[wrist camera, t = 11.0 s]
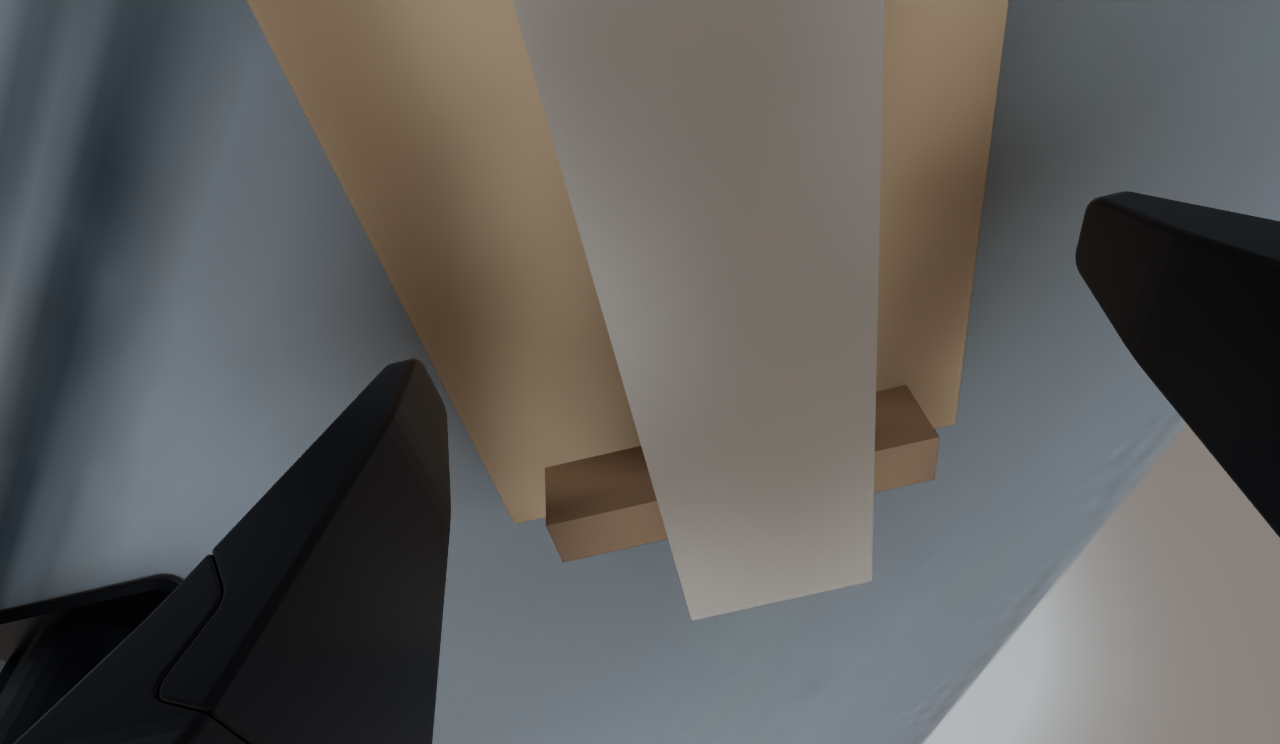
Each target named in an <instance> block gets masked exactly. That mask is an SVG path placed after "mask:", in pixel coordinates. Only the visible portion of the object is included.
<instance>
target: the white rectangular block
mask: <svg viewBox="0 0 1280 744" xmlns="http://www.w3.org/2000/svg"><path fill="white" fill-rule="evenodd" d="M512 2H513V6H514V9H515V12H516V16H517V19H518V23H519V26H520V30H521V33H522V37H523V40H524V44H525V47H526V50H527V54H528V57H529V61H530V64H531V68H532V71H533V75H534V78H535V81H536V85H537V88H538V92H539V95H540V99H541V102H542V106H543V109H544V113H545V116H546V119H547V123H548V126H549V130H550V133H551V137H552V140H553V144H554V147H555V150H556V154H557V157H558V161H559V164H560V168H561V171H562V175H563V178H564V181H565V185H566V188H567V192H568V195H569V199H570V202H571V206H572V209H573V213H574V216H575V219H576V223H577V226H578V230H579V233H580V237H581V240H582V244H583V247H584V250H585V254H586V257H587V261H588V264H589V268H590V271H591V275H592V278H593V282H594V285H595V288H596V292H597V295H598V299H599V302H600V306H601V309H602V313H603V316H604V319H605V323H606V326H607V330H608V333H609V337H610V340H611V344H612V347H613V350H614V354H615V357H616V361H617V364H618V368H619V371H620V375H621V378H622V382H623V385H624V388H625V392H626V395H627V399H628V402H629V406H630V409H631V413H632V416H633V419H634V423H635V426H636V430H637V433H638V437H639V440H640V444H641V447H642V451H643V454H644V457H645V461H646V464H647V468H648V471H649V475H650V478H651V482H652V485H653V488H654V492H655V495H656V499H657V502H658V506H659V509H660V513H661V516H662V519H663V523H664V526H665V530H666V533H667V537H668V540H669V544H670V547H671V551H672V554H673V557H674V561H675V564H676V568H677V571H678V575H679V578H680V582H681V585H682V588H683V592H684V595H685V599H686V602H687V606H688V609H689V613H690V616H691V620H692V621H694V620H698V619H703V618H707V617H712V616H717V615H721V614H726V613H730V612H735V611H739V610H744V609H748V608H753V607H757V606H762V605H767V604H771V603H776V602H780V601H785V600H789V599H794V598H798V597H803V596H807V595H812V594H817V593H821V592H826V591H830V590H835V589H839V588H844V587H848V586H853V585H858V584H862V583H867V582H871V581H872V553H873V507H874V462H875V416H876V371H877V326H878V280H879V235H880V189H881V144H882V99H883V53H884V8H885V0H512Z"/></svg>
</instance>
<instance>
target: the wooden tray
mask: <svg viewBox="0 0 1280 744" xmlns="http://www.w3.org/2000/svg"><path fill="white" fill-rule="evenodd" d="M247 2H248V4H249V6H250V8H251V10H252V12H253V14H254V16H255V18H256V20H257V22H258V24H259V26H260V28H261V30H262V32H263V33H264V35H265V37H266V39H267V41H268V43H269V45H270V47H271V49H272V51H273V53H274V55H275V57H276V59H277V61H278V63H279V65H280V67H281V69H282V71H283V73H284V75H285V76H286V78H287V80H288V82H289V84H290V86H291V88H292V90H293V92H294V94H295V96H296V98H297V100H298V102H299V104H300V106H301V108H302V110H303V112H304V114H305V116H306V118H307V120H308V121H309V123H310V125H311V127H312V129H313V131H314V133H315V135H316V137H317V139H318V141H319V143H320V145H321V147H322V149H323V151H324V153H325V155H326V157H327V159H328V161H329V163H330V164H331V166H332V168H333V170H334V172H335V174H336V176H337V178H338V180H339V182H340V184H341V186H342V188H343V190H344V192H345V194H346V196H347V198H348V200H349V202H350V204H351V206H352V207H353V209H354V211H355V213H356V215H357V217H358V219H359V221H360V223H361V225H362V227H363V229H364V231H365V233H366V235H367V237H368V239H369V241H370V243H371V245H372V247H373V249H374V251H375V252H376V254H377V256H378V258H379V260H380V262H381V264H382V266H383V268H384V270H385V272H386V274H387V276H388V278H389V280H390V282H391V284H392V286H393V288H394V290H395V292H396V294H397V295H398V297H399V299H400V301H401V303H402V305H403V307H404V309H405V311H406V313H407V315H408V317H409V319H410V321H411V323H412V325H413V327H414V329H415V331H416V333H417V335H418V337H419V338H420V340H421V342H422V344H423V346H424V348H425V350H426V352H427V354H428V356H429V358H430V360H431V362H432V364H433V366H434V368H435V370H436V372H437V374H438V376H439V378H440V380H441V382H442V383H443V385H444V387H445V389H446V391H447V393H448V395H449V397H450V399H451V401H452V403H453V405H454V407H455V409H456V411H457V413H458V415H459V417H460V419H461V421H462V423H463V425H464V426H465V428H466V430H467V432H468V434H469V436H470V438H471V440H472V442H473V444H474V446H475V448H476V450H477V452H478V454H479V456H480V458H481V460H482V462H483V464H484V466H485V468H486V469H487V471H488V473H489V475H490V477H491V479H492V481H493V483H494V485H495V487H496V489H497V491H498V493H499V495H500V497H501V499H502V501H503V503H504V505H505V507H506V509H507V511H508V512H509V514H510V516H511V518H512V520H513V522H514V524H517V523H522V522H526V521H531V520H535V519H539V518H544V517H546V527H547V529H548V531H549V533H550V536H551V538H552V540H553V542H554V544H555V546H556V548H557V551H558V553H559V555H560V557H561V559H562V561H563V562H567V561H572V560H576V559H581V558H585V557H590V556H594V555H598V554H603V553H607V552H612V551H616V550H621V549H625V548H630V547H634V546H639V545H643V544H648V543H652V542H656V541H661V540H665V539H668V537H667V533H666V530H665V526H664V523H663V519H662V516H661V513H660V509H659V506H658V502H657V499H656V495H655V492H654V488H653V485H652V482H651V478H650V475H649V471H648V468H647V464H646V461H645V457H644V454H643V451H642V447H641V444H640V440H639V437H638V433H637V430H636V426H635V423H634V419H633V416H632V413H631V409H630V406H629V402H628V399H627V395H626V392H625V388H624V385H623V382H622V378H621V375H620V371H619V368H618V364H617V361H616V357H615V354H614V350H613V347H612V344H611V340H610V337H609V333H608V330H607V326H606V323H605V319H604V316H603V313H602V309H601V306H600V302H599V299H598V295H597V292H596V288H595V285H594V282H593V278H592V275H591V271H590V268H589V264H588V261H587V257H586V254H585V250H584V247H583V244H582V240H581V237H580V233H579V230H578V226H577V223H576V219H575V216H574V213H573V209H572V206H571V202H570V199H569V195H568V192H567V188H566V185H565V181H564V178H563V175H562V171H561V168H560V164H559V161H558V157H557V154H556V150H555V147H554V144H553V140H552V137H551V133H550V130H549V126H548V123H547V119H546V116H545V113H544V109H543V106H542V102H541V99H540V95H539V92H538V88H537V85H536V81H535V78H534V75H533V71H532V68H531V64H530V61H529V57H528V54H527V50H526V47H525V44H524V40H523V37H522V33H521V30H520V26H519V23H518V19H517V16H516V12H515V9H514V6H513V2H512V0H247ZM1008 2H1009V0H885V8H884V53H883V99H882V144H881V189H880V235H879V280H878V326H877V371H876V416H875V462H874V493H875V492H880V491H884V490H889V489H893V488H897V487H902V486H906V485H911V484H915V483H920V482H924V481H929V480H933V479H935V473H936V464H937V455H938V445H939V436H938V434H937V433H936V431H935V429H937V428H941V427H945V426H950V425H954V424H955V421H956V413H957V405H958V397H959V389H960V381H961V374H962V366H963V358H964V350H965V342H966V334H967V326H968V318H969V310H970V302H971V294H972V287H973V279H974V271H975V263H976V255H977V247H978V239H979V231H980V223H981V215H982V207H983V200H984V192H985V184H986V176H987V168H988V160H989V152H990V144H991V136H992V128H993V120H994V113H995V105H996V97H997V89H998V81H999V73H1000V65H1001V57H1002V49H1003V41H1004V33H1005V25H1006V18H1007V10H1008Z"/></svg>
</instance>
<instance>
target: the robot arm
mask: <svg viewBox="0 0 1280 744" xmlns="http://www.w3.org/2000/svg"><path fill="white" fill-rule="evenodd" d="M1076 265H1077V268H1078V271H1079V273H1080V275H1081V276H1082V278H1083V279H1084V281H1085V282H1086V284H1087V286H1088V287H1089V289H1090V290H1091V292H1092V294H1093V295H1094V297H1095V298H1096V300H1097V301H1098V303H1099V305H1100V306H1101V308H1102V309H1103V311H1104V312H1105V314H1106V316H1107V317H1108V319H1109V320H1110V322H1111V324H1112V325H1113V327H1114V328H1115V330H1116V331H1117V333H1118V335H1119V336H1120V338H1121V339H1122V341H1123V343H1124V344H1125V346H1126V347H1127V348H1128V350H1129V351H1130V353H1131V354H1132V356H1133V357H1134V359H1135V360H1136V361H1137V363H1138V364H1139V365H1140V366H1141V368H1142V369H1143V370H1144V372H1145V373H1146V374H1147V375H1148V377H1149V378H1150V379H1151V380H1152V382H1153V383H1154V384H1155V385H1156V386H1157V388H1158V389H1159V390H1160V391H1161V393H1162V394H1163V395H1164V396H1165V398H1166V399H1167V400H1168V401H1169V402H1170V404H1171V405H1172V406H1173V407H1174V409H1175V410H1176V411H1177V412H1178V413H1179V415H1180V416H1181V417H1182V418H1183V420H1184V421H1185V422H1186V423H1187V425H1188V426H1189V427H1190V428H1191V429H1192V431H1193V432H1194V433H1195V434H1196V436H1197V437H1198V438H1199V439H1200V440H1201V442H1202V443H1203V444H1204V445H1205V446H1206V448H1207V449H1208V450H1209V452H1210V453H1211V454H1212V455H1213V456H1214V457H1215V459H1216V460H1217V461H1218V463H1219V464H1220V465H1221V466H1222V467H1223V469H1224V470H1225V471H1226V472H1227V474H1228V475H1229V476H1230V477H1231V479H1232V480H1233V481H1234V482H1235V483H1236V484H1237V486H1238V487H1239V488H1240V489H1241V491H1242V492H1243V493H1244V494H1245V496H1246V497H1247V498H1248V499H1249V501H1250V502H1251V503H1252V504H1253V506H1254V507H1255V508H1256V509H1257V510H1258V512H1259V513H1260V514H1261V515H1262V517H1263V518H1264V519H1265V520H1266V521H1267V523H1268V524H1269V525H1270V526H1271V528H1272V529H1273V530H1274V531H1275V533H1276V534H1277V535H1278V536H1279V537H1280V221H1275V220H1270V219H1265V218H1260V217H1255V216H1250V215H1245V214H1240V213H1235V212H1230V211H1225V210H1220V209H1215V208H1210V207H1205V206H1200V205H1194V204H1189V203H1184V202H1179V201H1174V200H1169V199H1164V198H1159V197H1154V196H1149V195H1144V194H1139V193H1134V192H1119V193H1115V194H1111V195H1106V196H1102V197H1098V198H1095V199H1094V200H1092V201H1091V202H1090V203H1089V205H1088V206H1087V208H1086V211H1085V215H1084V219H1083V224H1082V228H1081V232H1080V237H1079V241H1078V245H1077V249H1076ZM450 518H451V496H450V474H449V451H448V429H447V415H446V410H445V406H444V403H443V401H442V399H441V397H440V395H439V393H438V391H437V389H436V387H435V386H434V384H433V382H432V380H431V378H430V376H429V374H428V372H427V370H426V368H425V367H424V365H423V364H422V363H421V362H420V361H419V360H417V359H409V360H405V361H401V362H396V363H392V364H389V365H387V366H386V367H385V368H384V369H383V370H382V371H381V372H380V373H379V374H378V375H377V376H376V377H375V379H374V380H373V381H372V382H371V383H370V384H369V385H368V386H367V387H366V388H365V389H364V390H363V391H362V392H361V393H360V394H359V395H358V397H357V398H356V399H355V400H354V401H353V402H352V403H351V404H350V405H349V406H348V407H347V408H346V409H345V410H344V411H343V412H342V413H341V415H340V416H339V417H338V418H337V419H336V420H335V421H334V422H333V423H332V424H331V425H330V426H329V427H328V428H327V429H326V430H325V431H324V433H323V434H322V435H321V436H320V437H319V438H318V439H317V440H316V441H315V442H314V443H313V444H312V445H311V446H310V447H309V448H308V449H307V450H306V452H305V453H304V454H303V455H302V456H301V457H300V458H299V459H298V460H297V461H296V462H295V463H294V464H293V465H292V466H291V467H290V468H289V470H288V471H287V472H286V473H285V474H284V475H283V476H282V477H281V478H280V479H279V480H278V481H277V482H276V483H275V484H274V485H273V486H272V487H271V489H270V490H269V491H268V492H267V493H266V494H265V495H264V496H263V497H262V498H261V499H260V500H259V501H258V502H257V503H256V504H255V505H254V507H253V508H252V509H251V510H250V511H249V512H248V513H247V514H246V515H245V516H244V517H243V518H242V519H241V520H240V521H239V522H238V523H237V524H236V526H235V527H234V528H233V529H232V530H231V531H230V532H229V533H228V534H227V535H226V536H225V537H224V538H223V539H222V540H221V541H220V542H219V543H218V545H217V546H216V547H215V548H214V549H213V551H212V553H213V555H207V556H206V557H205V558H204V559H203V560H202V561H201V562H200V563H199V565H198V566H197V567H196V568H195V569H194V570H193V571H192V572H191V573H190V574H189V575H188V576H187V577H186V578H185V579H184V580H183V581H182V582H181V583H180V584H178V583H176V582H174V581H171V580H168V579H154V580H150V581H145V582H141V583H136V584H132V585H128V586H123V587H119V588H114V589H110V590H106V591H101V592H97V593H92V594H88V595H84V596H79V597H75V598H71V599H66V600H62V601H57V602H53V603H49V604H44V605H40V606H35V607H31V608H27V609H22V610H18V611H14V612H9V613H5V614H0V658H1V659H2V660H4V661H5V662H7V663H6V664H5V666H4V668H3V669H2V671H1V673H0V744H432V738H433V726H434V714H435V702H436V690H437V678H438V666H439V654H440V642H441V630H442V618H443V606H444V594H445V582H446V570H447V558H448V546H449V534H450Z"/></svg>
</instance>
